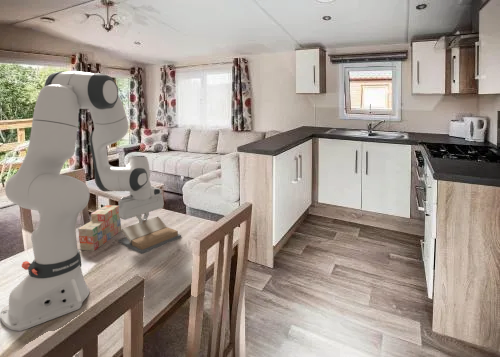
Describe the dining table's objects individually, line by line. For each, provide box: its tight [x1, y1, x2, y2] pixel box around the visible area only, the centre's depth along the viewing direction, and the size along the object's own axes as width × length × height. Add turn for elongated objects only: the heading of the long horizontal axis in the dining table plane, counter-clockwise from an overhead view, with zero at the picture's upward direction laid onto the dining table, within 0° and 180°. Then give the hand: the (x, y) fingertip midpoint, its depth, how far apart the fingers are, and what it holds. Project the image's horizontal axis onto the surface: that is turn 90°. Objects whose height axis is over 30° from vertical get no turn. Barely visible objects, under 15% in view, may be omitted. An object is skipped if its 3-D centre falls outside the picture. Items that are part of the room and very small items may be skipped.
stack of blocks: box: [77, 204, 122, 251], centre depth 140 cm, size 21×6×12 cm, turn 173°
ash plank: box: [121, 216, 168, 243], centre depth 142 cm, size 18×7×2 cm
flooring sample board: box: [117, 226, 182, 254], centre depth 141 cm, size 20×17×3 cm
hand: (143, 223), depth 142 cm, fingers closed
